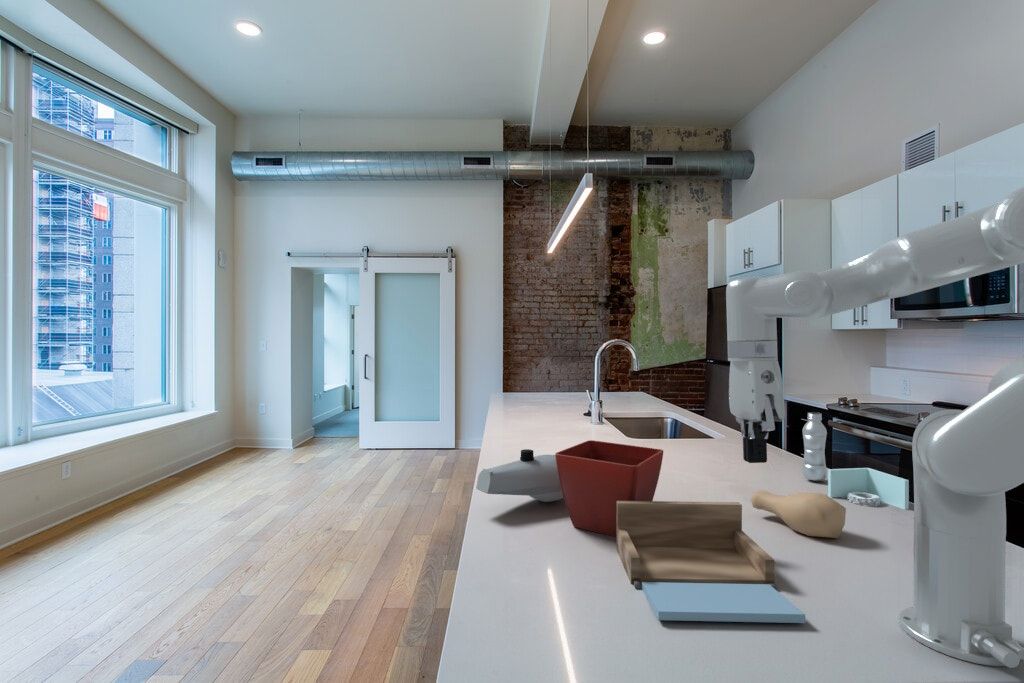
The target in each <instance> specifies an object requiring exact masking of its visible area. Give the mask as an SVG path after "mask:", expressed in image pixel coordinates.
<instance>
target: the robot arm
mask: <svg viewBox="0 0 1024 683" xmlns="http://www.w3.org/2000/svg"><path fill="white" fill-rule="evenodd" d="M1021 264H1024V186H1023V187H1020V188H1018V189H1016V190H1013V191H1012V192H1010V193H1009V194H1008V195H1006V196H1005V197H1004V198H1002V199H1001V200H1000V201H999V202H998V203H996V204H994V205H990V206H987V207H984V208H980V209H978V210H975V211H971V212H968V213H966V214H964V215H960V216H957V217H954V218H952V219H951V218H950V219H948V220H945V221H942V222H940V223H935V224H933V225H930V226H926V227H924V228H919V229H917V230H914V231H911V232H907V233H905V234H901V235H899V236H897V237H895V238H893V239H891V240H890V241H887V242H886V243H884V244H883V245H881V246H879V247H878V248H877V249H875V250H873V251H872V252H870V253H868V254H865V255H864V256H862V257H859V258H857V259H855V260H852V261H850V262H847V263H843V264H841V265H839V266H835V267H833V268H829V269H827V270H823V271H820V272H813V271H809V270H797V271H791V272H787V273H782V274H777V275H771V276H768V277H767V276H765V277H763V276H754V277H753V276H750V277H741V278H736V279H733V280H731V281H730V282H728V283H727V285H726V290H725V296H726V297H725V301H726V333H727V334H726V335H727V336H726V338H727V339H726V340H727V361H728V362H730V365H729V374H728V376H729V378H728V404H729V410H730V413H731V415H733V416H734V417H735V421H736V422H737V423H738V424H739V425H740V431H741V432H740V433H741V434H740V435H741V436H742V449H743V450H742V453H743V454H742V457H743V461H745V462H746V463H749V464H764V463H767V461H768V448H767V443H768V442H767V440H768V439H769V432H771V431H775V430H776V426H775V422H782V421H784V419H785V417H786V410H785V409H786V408H785V398H784V395H785V394H784V386H783V379H782V371H781V367H780V365H779V361H778V334H777V333H778V330H777V328H778V327H777V324H778V323H777V318H781V319H784V318H785V319H794V320H799V321H806V322H807V321H814V320H818V319H821V318H826V317H827V316H832V315H835V314H840V313H843V312H846V311H847V312H848V311H850V310H853V309H858V308H861V307H864V306H869V305H872V304H875V303H878V302H881V301H886V300H890V299H896V298H901V297H906V296H910V295H913V294H916V293H917V294H918V293H920V292H924V291H926V290H931V289H934V288H938V287H941V286H942V287H943V286H946V285H949V284H951V283H955V282H959V281H963V280H966V279H970V278H973V277H976V276H981V275H984V274H989V273H992V272H995V271H999V270H1003V269H1007V268H1011V267H1013V266H1017V265H1021ZM911 444H912V446H911V448H912V450H911V451H912V455H911V456H912V467H913V468H912V469H913V499H914V500H913V501H914V502H913V508H914V509H913V588H912V589H913V590H912V592H913V595H912V597H913V601H912V602H913V606H909V607H906V608H904V609H903V610H902V611H900V614H899V623H900V626H901V628H902V629H903V630H904V631H905V633H906V634H908V635H909V636H910V637H912V638H913V639H914V640H916V642H917V641H918V642H919V643H921V644H923V645H925V646H926V647H928V648H929V649H932V650H933V651H937V652H939V653H941V654H943V655H947V656H949V657H951V658H954V659H958V660H961V661H964V662H968V663H973V664H976V665H977V664H978V665H983V666H989V667H990V666H992V667H1007V668H1009V669H1011V668H1012V669H1014V668H1016V667H1018V666H1019V664H1020V661H1021V660H1023V661H1024V647H1023V646H1021V645H1020V644H1019V642H1018V641H1017V640H1015V638H1014V637H1013V626H1012V625H1010V624H1009V623H1007V622H1006V542H1007V541H1006V540H1007V539H1006V537H1007V507H1006V506H1007V505H1006V504H1007V502H1006V492H1008V491H1009V490H1012V489H1014V488H1017V487H1018V486H1020V485H1022V484H1024V354H1023V355H1022V356H1020V357H1019V358H1017V359H1015V360H1014V361H1012V362H1010V363H1009V364H1007V365H1005V366H1004V367H1002V368H1001V369H1000V370H998V371H997V372H996V373H995V374H994V375H993V377H992V378H991V379H990V380H989V383H988V386H987V393H986V394H985V395H983V396H982V397H980V398H979V399H978V400H976V401H975V402H973V403H971V404H970V405H969V406H967V407H966V408H965V409H963V410H962V409H953V408H952V409H943V410H939V411H936V412H933V413H931V414H929V415H927V416H926V417H924V418H923V419H922V420H920V422H919V424H918V425H917V426H916V427H915V430H914V432H913V436H912V443H911Z"/></svg>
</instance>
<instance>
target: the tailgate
mask: <svg viewBox="0 0 1024 683" xmlns="http://www.w3.org/2000/svg"><path fill="white" fill-rule="evenodd" d="M641 590H642V592H643V594H644V595H645V598H646V600H647V601H648V604H649V605H650V607H651V609H652V610H653V613H654V614H655V616H656V618H657V620H658V621H685V622H686V621H687V622H691V621H692V622H694V621H695V622H699V621H700V622H729V623H731V622H732V623H733V622H734V623H735V622H736V623H737V622H738V623H739V622H741V623H743V622H744V623H778V624H779V623H781V624H782V623H784V624H785V623H786V624H788V623H789V624H806V621H807V620H806V614H805V613H804V612H803V611H802V610H801V609H800V608H798V607H797V606H796V605H794V603H792V602H791V601H790V600H788V599H787V598H786V597H785V596H784V595H783V594H781V593H780V591H778V589H777V590H775V589H774V588H773V587H772V586H771V585H769V584H722V583H665V582H642V584H641Z"/></svg>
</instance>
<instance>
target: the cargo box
mask: <svg viewBox="0 0 1024 683" xmlns="http://www.w3.org/2000/svg"><path fill="white" fill-rule="evenodd" d="M615 538H616V539H615V540H616V545H615V547H616V552H617V554H618V557H619V559H620V562H621V563H622V566H623V568H624V571H625V573H626V575H627V576H626V577H627V578H628V581H629V583H630V585H633V586H634V589H635V590H641V585H642V582H665V583H722V584H769V585H771V586H772V587H773V588H774V589H775V590H777V591H778V589H777V585H776V584H775V559H774V558H773V557H772V556H771V555H770V554H768V552H767V551H765V549H763V548H762V547H761V546H760V545H759V544H757V542H755V541H754V540H753V539H752V538H751V537H750V536H749V535H748V534H746V532H744V531H743V505H742V503H740V502H737V501H671V500H669V501H665V500H664V501H663V500H661V501H659V500H656V501H655V500H653V501H617V505H616V537H615Z"/></svg>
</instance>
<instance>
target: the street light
mask: <svg viewBox="0 0 1024 683" xmlns="http://www.w3.org/2000/svg"><path fill="white" fill-rule="evenodd" d="M476 482H477V483H476V486H475V487H476V490H478V491H479V492H483V493H485V494H487V495H501V496H502V495H505V496H506V495H507V496H526V497H527V496H529V497H530V498H533V499H534V500H537V501H539V502H543V503H549V502H556V501H559V500H561V499H564V497H563V493H562V489H561V485H560V481H559V476H558V470H557V464H556V456H555V454H540V455H535V456H534V450H532V449H527V448H526V449H525V448H524V449H521V450H520V457H519V460H515V461H512V462H507V463H504V464H500V465H497V466H493V467H490V468H487V469H486V468H483V469H482V470H481V471H480V472H479V474H478V476H477V481H476Z"/></svg>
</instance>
